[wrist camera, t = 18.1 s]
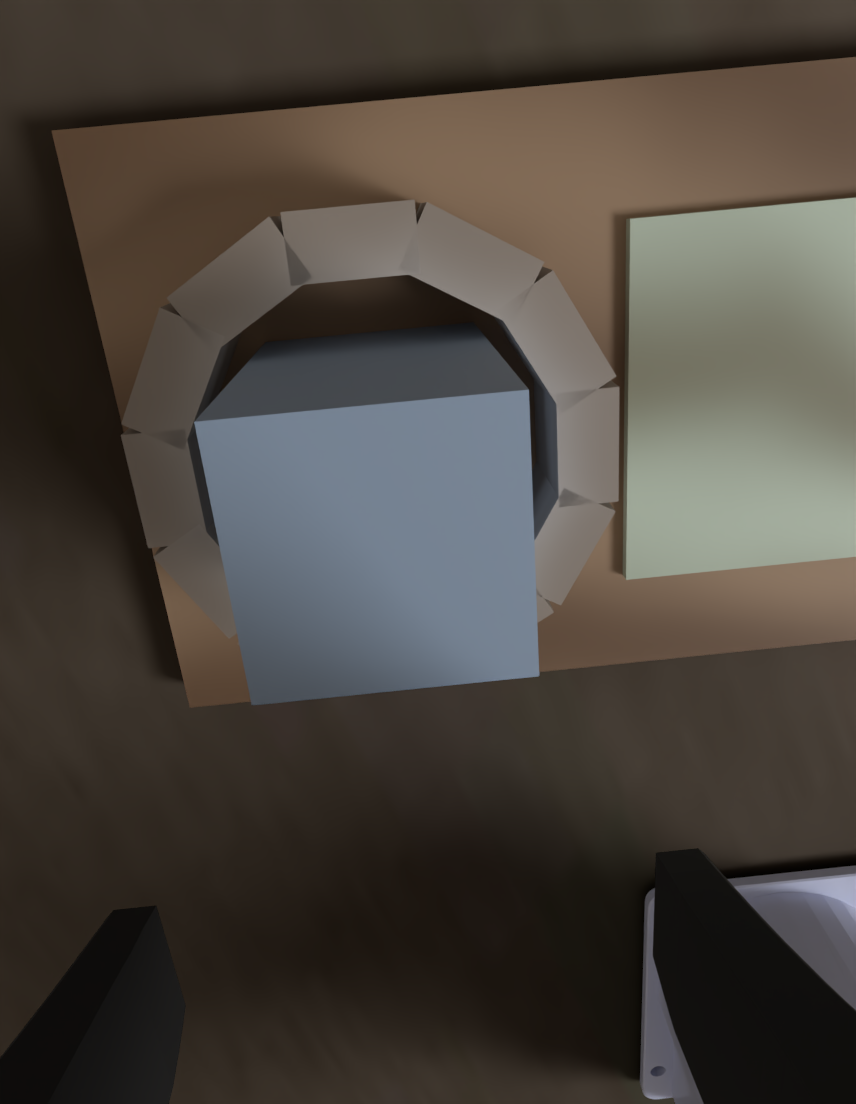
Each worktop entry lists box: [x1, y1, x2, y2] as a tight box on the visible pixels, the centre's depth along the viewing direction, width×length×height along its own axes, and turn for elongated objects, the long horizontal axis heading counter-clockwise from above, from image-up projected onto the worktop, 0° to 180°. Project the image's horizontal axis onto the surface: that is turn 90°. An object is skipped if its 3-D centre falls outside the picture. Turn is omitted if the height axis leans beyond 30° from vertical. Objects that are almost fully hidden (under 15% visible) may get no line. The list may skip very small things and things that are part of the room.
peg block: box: [194, 322, 539, 705], centre depth 15 cm, size 4×4×7 cm
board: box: [52, 57, 856, 708], centre depth 17 cm, size 13×20×4 cm, turn 95°
